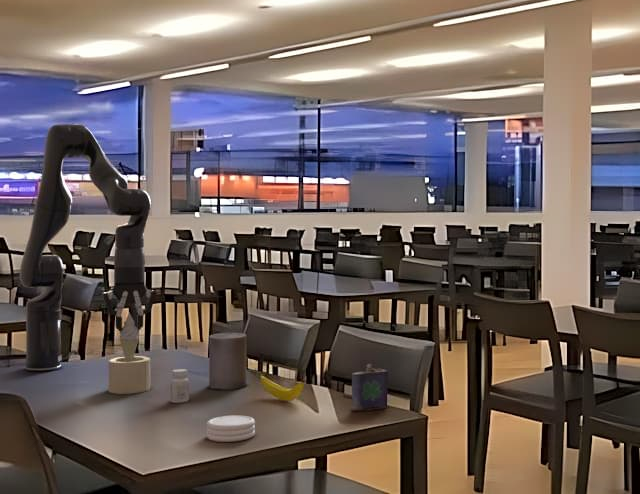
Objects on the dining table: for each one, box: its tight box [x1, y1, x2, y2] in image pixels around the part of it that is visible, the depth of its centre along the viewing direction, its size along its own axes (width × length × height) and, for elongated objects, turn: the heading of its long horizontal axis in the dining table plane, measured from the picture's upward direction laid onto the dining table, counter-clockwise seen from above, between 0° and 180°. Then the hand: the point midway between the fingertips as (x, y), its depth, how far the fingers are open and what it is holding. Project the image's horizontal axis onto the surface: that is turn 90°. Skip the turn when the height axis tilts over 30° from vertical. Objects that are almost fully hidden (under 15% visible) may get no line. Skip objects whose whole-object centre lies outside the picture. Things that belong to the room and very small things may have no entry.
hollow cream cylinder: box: [108, 355, 151, 395], centre depth 251 cm, size 10×10×8 cm
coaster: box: [206, 414, 256, 443], centre depth 203 cm, size 10×10×4 cm
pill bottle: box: [169, 368, 190, 404], centre depth 237 cm, size 4×4×8 cm
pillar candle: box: [208, 330, 247, 391], centre depth 256 cm, size 10×10×15 cm
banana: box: [259, 375, 306, 402], centre depth 239 cm, size 3×19×6 cm, turn 45°
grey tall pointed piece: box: [118, 311, 140, 362], centre depth 251 cm, size 5×5×15 cm
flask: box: [351, 363, 389, 412], centre depth 230 cm, size 9×3×11 cm, turn 121°
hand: (129, 329), depth 251 cm, fingers closed on grey tall pointed piece, 4 cm apart
